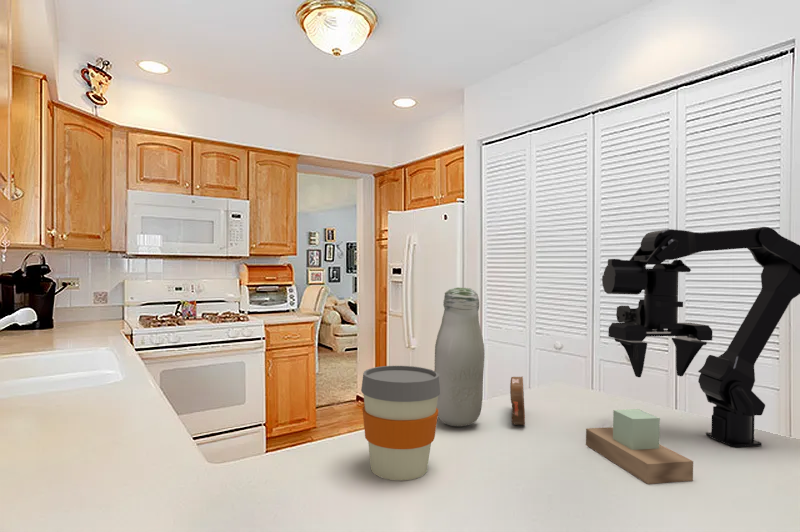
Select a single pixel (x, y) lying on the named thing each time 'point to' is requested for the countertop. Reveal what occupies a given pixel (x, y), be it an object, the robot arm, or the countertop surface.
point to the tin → (517, 401)
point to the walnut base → (641, 458)
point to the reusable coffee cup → (400, 419)
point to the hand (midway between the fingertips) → (659, 376)
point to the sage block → (636, 429)
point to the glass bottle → (460, 359)
